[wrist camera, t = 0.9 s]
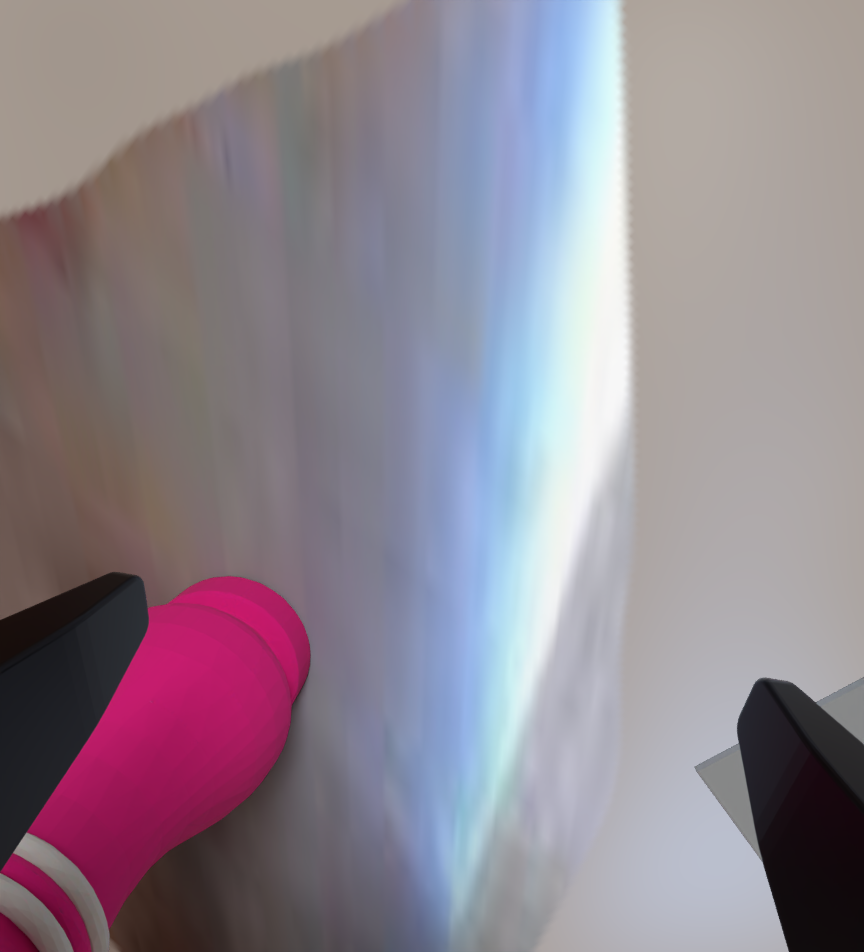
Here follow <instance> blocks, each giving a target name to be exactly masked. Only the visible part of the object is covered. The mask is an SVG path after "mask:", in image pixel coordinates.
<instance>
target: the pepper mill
mask: <svg viewBox="0 0 864 952" xmlns="http://www.w3.org/2000/svg"><path fill="white" fill-rule="evenodd" d="M148 614H149V625H148V629H147V632H146V634H145V637H144V639H143V640H142V642H141V644H140V646H139V648H138V650H137V652H136V654H135V656H134V658H133V659H132V661H131V663H130V665H129V667H128V669H127V671H126V673H125V675H124V677H123V678H122V680H121V682H120V684H119V686H118V688H117V690H116V692H115V694H114V696H113V697H112V699H111V701H110V703H109V705H108V707H107V709H106V711H105V712H104V714H103V716H102V718H101V720H100V721H99V723H98V725H97V726H96V728H95V730H94V731H93V733H92V734H91V736H90V738H89V739H88V741H87V742H86V744H85V745H84V747H83V748H82V750H81V751H80V753H79V754H78V756H77V757H76V759H75V760H74V762H73V763H72V765H71V766H70V768H69V769H68V771H67V772H66V774H65V775H64V777H63V778H62V780H61V781H60V783H59V784H58V786H57V787H56V789H55V790H54V792H53V793H52V795H51V796H50V798H49V800H48V801H47V803H46V804H45V806H44V807H43V809H42V810H41V812H40V813H39V815H38V816H37V818H36V819H35V821H34V822H33V824H32V825H31V827H30V828H29V830H28V831H27V833H26V834H25V836H24V837H23V839H22V840H21V842H20V843H19V845H18V846H17V848H16V849H15V851H14V852H13V854H12V855H11V857H10V858H9V860H8V861H7V863H6V864H5V866H4V867H3V869H2V870H1V872H0V952H109V939H110V934H109V929H110V927H111V925H112V924H113V922H114V920H115V918H116V916H117V914H118V913H119V911H120V909H121V907H122V905H123V904H124V902H125V900H126V899H127V897H128V896H129V895H130V893H131V892H132V891H133V889H134V888H135V887H136V885H137V884H138V883H139V881H140V880H141V879H142V877H143V876H144V875H145V873H146V872H147V871H148V869H149V868H151V867H152V866H153V865H154V864H155V863H156V862H157V861H158V860H159V859H160V858H161V857H162V856H163V855H164V854H165V853H167V852H168V851H170V850H171V849H172V848H174V847H176V846H177V845H179V844H181V843H182V842H184V841H186V840H188V839H189V838H191V837H193V836H195V835H196V834H198V833H200V832H202V831H203V830H205V829H207V828H208V827H210V826H212V825H213V824H215V823H216V822H218V821H220V820H221V819H223V818H224V817H225V816H226V815H227V814H229V813H230V812H231V811H232V810H233V809H235V808H236V807H237V806H238V805H239V804H241V803H242V802H243V801H244V800H245V799H247V798H248V797H249V796H250V795H251V794H252V793H253V792H254V791H255V789H256V788H257V787H258V786H259V785H260V784H261V782H262V781H263V780H264V778H265V777H266V775H267V774H268V772H269V771H270V770H271V768H272V767H273V765H274V764H275V762H276V761H277V759H278V757H279V755H280V753H281V752H282V750H283V747H284V744H285V742H286V739H287V736H288V731H289V727H290V723H291V706H292V704H293V702H294V701H295V699H296V697H297V695H298V693H299V692H300V690H301V688H302V686H303V684H304V683H305V680H306V677H307V675H308V671H309V666H310V646H309V641H308V637H307V634H306V631H305V628H304V626H303V624H302V622H301V620H300V619H299V617H298V615H297V614H296V612H295V611H294V610H293V609H292V607H291V606H290V605H289V604H288V603H287V602H286V601H285V599H283V598H282V597H281V596H280V595H278V594H277V593H276V592H274V591H273V590H271V589H269V588H268V587H266V586H264V585H263V584H261V583H258V582H255V581H252V580H248V579H245V578H241V577H231V576H227V577H215V578H210V579H207V580H203V581H201V582H198V583H196V584H194V585H192V586H190V587H189V588H187V589H186V590H185V591H183V592H182V593H181V594H179V595H178V596H177V597H176V598H174V599H173V600H172V601H170V602H169V603H168V604H166V605H160V606H154V607H150V608H148Z"/></svg>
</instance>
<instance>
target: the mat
mask: <svg viewBox="0 0 864 952" xmlns="http://www.w3.org/2000/svg"><path fill="white" fill-rule="evenodd" d="M816 703H817V704H818V705H819V706H820V707H821V708H823V709H824V710H825V711H826V712H827V713H828V714H830V715H831V716H832V717H833V718H834V719H835V720H837V721H838V722H839V723H840V724H841V725H842V726H843V727H845V728H846V729H847V730H848V731H849V732H850V733H852V734H853V735H854V736H855V737H856V738H857V739H859V740H860V741H861V742H862V743H863V744H864V677H863V678H861V679H859V680H857V681H855V682H854V683H852V684H850V685H848V686H846V687H844V688H842V689H840V690H839V691H837V692H835V693H833V694H831V695H829V696H827V697H825V698H823V699H821V700H820V701H818V702H816ZM695 769H696V771H697V773H698V774H699V775H700V777H701V778H702V780H703V781H704V782H705V784H706V785H707V786H708V788H709V789H710V791H711V792H712V793H713V795H714V796H715V797H716V799H717V800H718V802H719V803H720V804H721V806H722V807H723V808H724V810H725V811H726V812H727V814H728V815H729V817H730V818H731V819H732V821H733V822H734V823H735V825H736V826H737V828H738V829H739V830H740V832H741V833H742V834H743V836H744V837H745V838H746V840H747V841H748V843H749V844H750V845H751V847H752V848H753V849H754V851H755V852H756V854H757V855H758V856H759V858H760V859H761V861H762V858H761V854H760V850H759V846H758V842H757V837H756V833H755V828H754V823H753V817H752V812H751V806H750V801H749V796H748V790H747V785H746V779H745V774H744V768H743V763H742V757H741V752H740V747H739V743H738V744H736V745H735V746H733V747H731V748H729V749H727V750H725V751H723V752H721V753H720V754H718V755H716V756H714V757H712V758H710V759H708V760H706V761H704V762H703V763H701V764H699V765H697V766H695ZM762 862H763V861H762Z"/></svg>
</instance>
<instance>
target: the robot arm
mask: <svg viewBox="0 0 864 952" xmlns="http://www.w3.org/2000/svg"><path fill="white" fill-rule="evenodd" d="M148 625H149V614H148V608H147V601H146V594H145V588H144V583H143V580H142V579H141V578H140V577H139V576H137V575H132V574H126V573H120V572H112V573H109V574H106V575H104V576H102V577H99V578H97V579H95V580H92V581H90V582H88V583H85V584H83V585H81V586H78V587H76V588H74V589H71V590H69V591H67V592H64V593H62V594H60V595H57V596H55V597H53V598H51V599H48V600H46V601H44V602H41V603H39V604H37V605H34V606H32V607H30V608H27V609H25V610H23V611H20V612H18V613H16V614H13V615H11V616H9V617H6V618H4V619H2V620H0V872H1V870H2V869H3V867H4V866H5V864H6V863H7V861H8V860H9V858H10V857H11V855H12V854H13V852H14V851H15V849H16V848H17V846H18V845H19V843H20V842H21V840H22V839H23V837H24V836H25V834H26V833H27V831H28V830H29V828H30V827H31V825H32V824H33V822H34V821H35V819H36V818H37V816H38V815H39V813H40V812H41V810H42V809H43V807H44V806H45V804H46V803H47V801H48V800H49V798H50V796H51V795H52V793H53V792H54V790H55V789H56V787H57V786H58V784H59V783H60V781H61V780H62V778H63V777H64V775H65V774H66V772H67V771H68V769H69V768H70V766H71V765H72V763H73V762H74V760H75V759H76V757H77V756H78V754H79V753H80V751H81V750H82V748H83V747H84V745H85V744H86V742H87V741H88V739H89V738H90V736H91V734H92V733H93V731H94V730H95V728H96V726H97V725H98V723H99V721H100V720H101V718H102V716H103V714H104V712H105V711H106V709H107V707H108V705H109V703H110V701H111V699H112V697H113V696H114V694H115V692H116V690H117V688H118V686H119V684H120V682H121V680H122V678H123V677H124V675H125V673H126V671H127V669H128V667H129V665H130V663H131V661H132V659H133V658H134V656H135V654H136V652H137V650H138V648H139V646H140V644H141V642H142V640H143V639H144V637H145V634H146V632H147V629H148ZM737 734H738V740H739V747H740V752H741V757H742V763H743V768H744V774H745V779H746V785H747V790H748V796H749V801H750V806H751V812H752V817H753V823H754V828H755V833H756V837H757V842H758V846H759V850H760V854H761V858H762V861H763V865H764V868H765V871H766V875H767V879H768V882H769V885H770V889H771V892H772V896H773V899H774V902H775V905H776V909H777V913H778V916H779V919H780V923H781V926H782V930H783V933H784V936H785V940H786V943H787V947H788V950H789V952H864V744H863V743H862V742H861V741H860V740H859V739H857V738H856V737H855V736H854V735H853V734H852V733H850V732H849V731H848V730H847V729H846V728H845V727H843V726H842V725H841V724H840V723H839V722H838V721H837V720H835V719H834V718H833V717H832V716H831V715H830V714H828V713H827V712H826V711H825V710H824V709H823V708H821V707H820V706H819V705H818V704H817V703H816V702H814V701H813V700H812V699H811V698H810V697H808V696H807V695H806V694H805V693H804V692H803V691H802V690H800V689H799V688H798V687H797V686H796V685H794V684H793V683H791V682H788V681H782V680H777V679H771V678H760V679H758V680H757V681H756V682H755V684H754V686H753V688H752V690H751V692H750V694H749V697H748V698H747V701H746V703H745V705H744V707H743V710H742V711H741V714H740V716H739V719H738V723H737Z"/></svg>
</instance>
